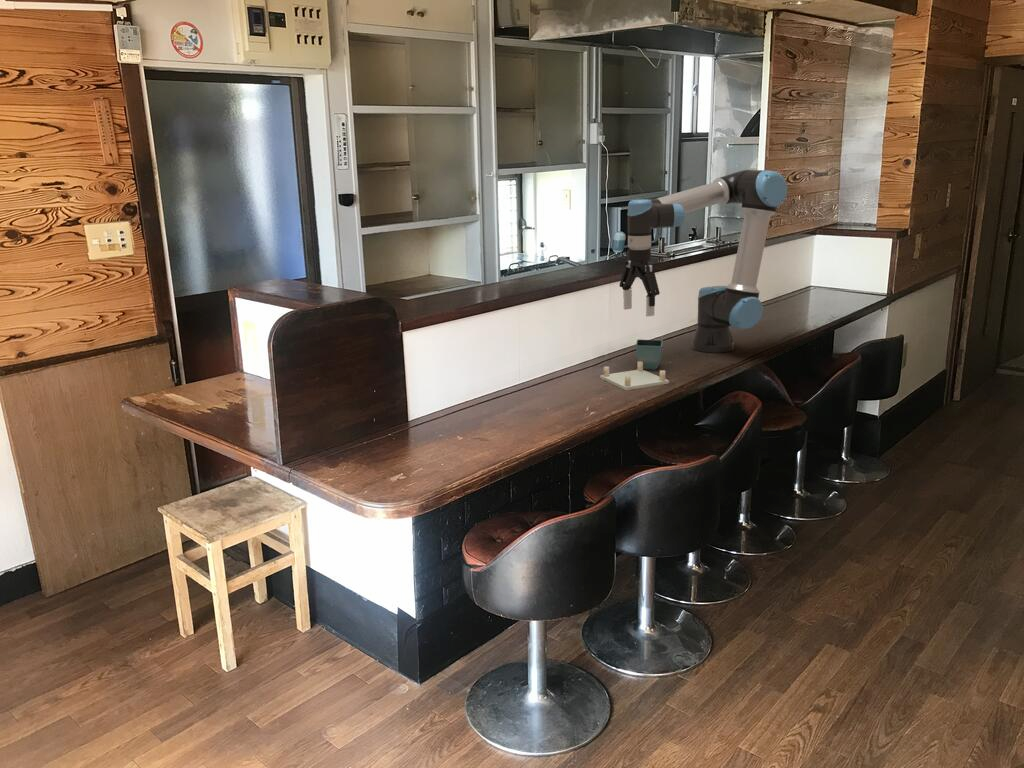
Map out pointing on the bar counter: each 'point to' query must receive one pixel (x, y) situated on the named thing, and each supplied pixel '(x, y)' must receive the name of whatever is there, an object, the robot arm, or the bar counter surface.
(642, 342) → the flower pot
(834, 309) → the bar counter surface
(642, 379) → the pot stand
